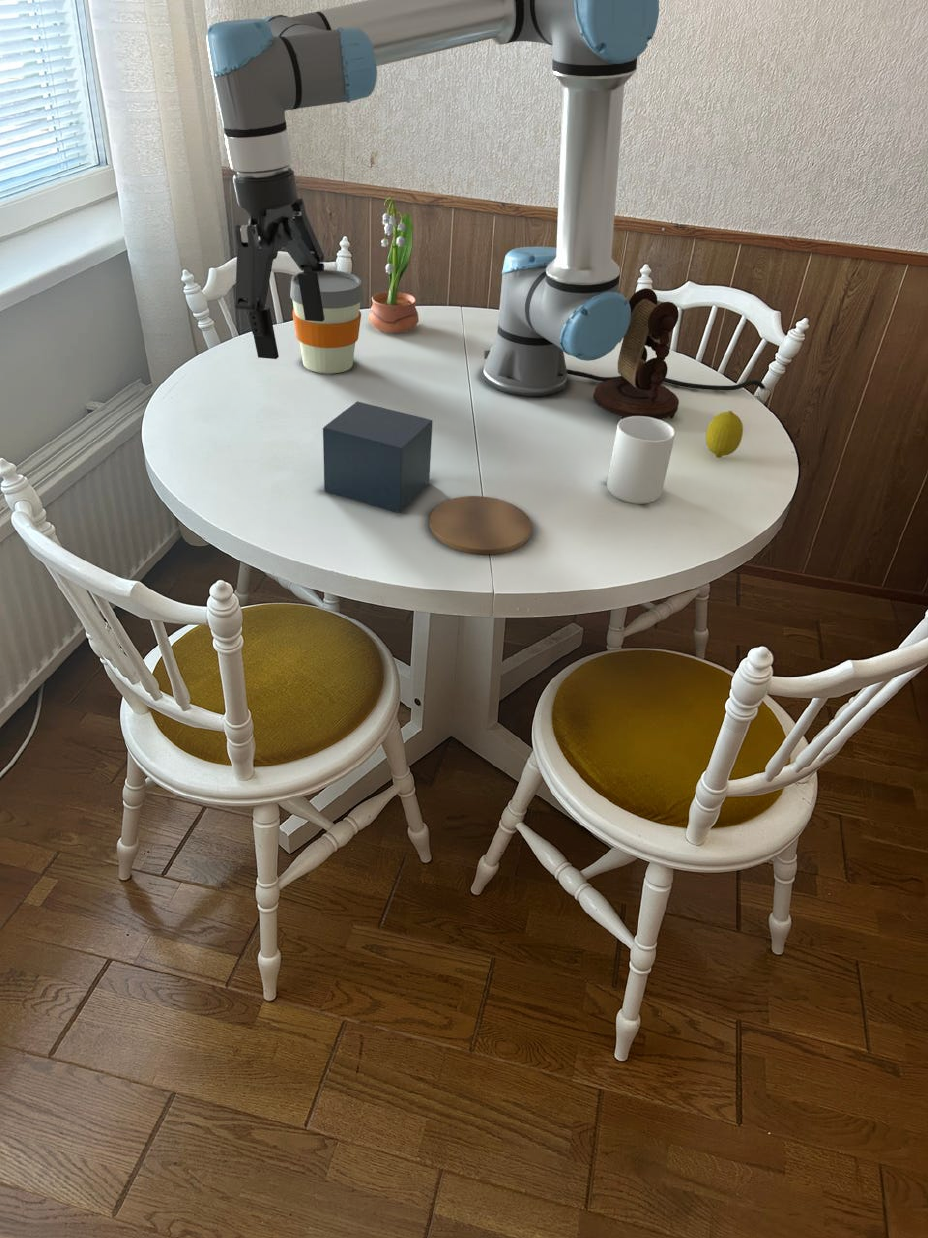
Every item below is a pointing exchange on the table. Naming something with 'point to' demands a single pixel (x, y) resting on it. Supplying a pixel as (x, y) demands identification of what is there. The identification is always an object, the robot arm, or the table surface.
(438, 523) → the cork trivet
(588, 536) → the table surface
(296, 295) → the reusable coffee cup
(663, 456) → the mug
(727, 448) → the lemon
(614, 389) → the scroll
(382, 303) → the potted flower
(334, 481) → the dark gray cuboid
